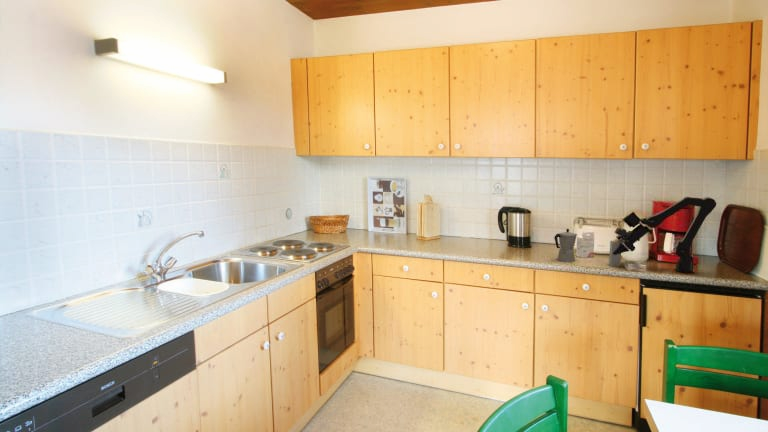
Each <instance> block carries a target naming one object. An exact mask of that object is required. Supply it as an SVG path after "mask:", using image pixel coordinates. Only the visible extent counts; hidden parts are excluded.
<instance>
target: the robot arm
mask: <svg viewBox="0 0 768 432" xmlns="http://www.w3.org/2000/svg"><path fill="white" fill-rule="evenodd" d="M688 206H693V207H698V209H697V212H696V214H695V217H694V218H693V221H692V222H691V224H690V225H689V228H688V229H687V231H686V233H685V235H684V236H683V238H682V239H681V240H680V239H677V240H676V243H675V245H674V246H673V247H674V253H675V254H676V256H678V258H677V260H676V264H675V268H674V270H675V271H677V272H679V273H684V274H695V273H696V272H695V271H694V263H695V262H694V261H695V260H694V259H695V258H694V256H693V254H692V253H691V248H692V244H693V241H694V239H695V237H696V235H697V234H698V233H699V230H700V228H701V226H702V225H703V223H704V221H705V220H706V218H707V216H709V215H710V214H711V213H712V211H713V210H715V208H716V207H717V201H716V200H715V198H712V197H709V196H706V197H702V198H700V197H691V196H686V197H685V196H684V197H683V198H682V199H680V200H678V202H675V203H674V204H672V205H670V206H669V207H668V208H665V209H664V210H662V211H660V212H657V213H654V214H652V215H650V216H648V217H644V218H643V217H642V218H641V217H639V216H638V215H637V214H636V212H634V211H631V212H630V213H629V214H626V216H624V217H623V218H622V221H623V222H624V223H625V224H626V225H627V226H628V227H629V228H632V230H628V231H627V230H626V229H625V228H619V227H616V229H615V231H613V232H614V234H616V235H617V236H616V237H615V238H616V240H618V241H620V246H619V247H618V248H617V249H616V250H615V251H614V252H613V254H614V255H616V254H620V253H621V254H623V253H626V252H634V251H635V250H636V246H635V245H634V244H635V243H637V242H639V241H641V238H643V237H644V236H646V235H647V234H649V235H653V229H655V228H658V227H659V226H660V225H661V224H662V223H663V222H664V221H665V220H666V219H667V218H669V217H671V216H673V215H674V214H676V213H678V212H679V211H681V210H683V209H684V208H686V207H688Z"/></svg>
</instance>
